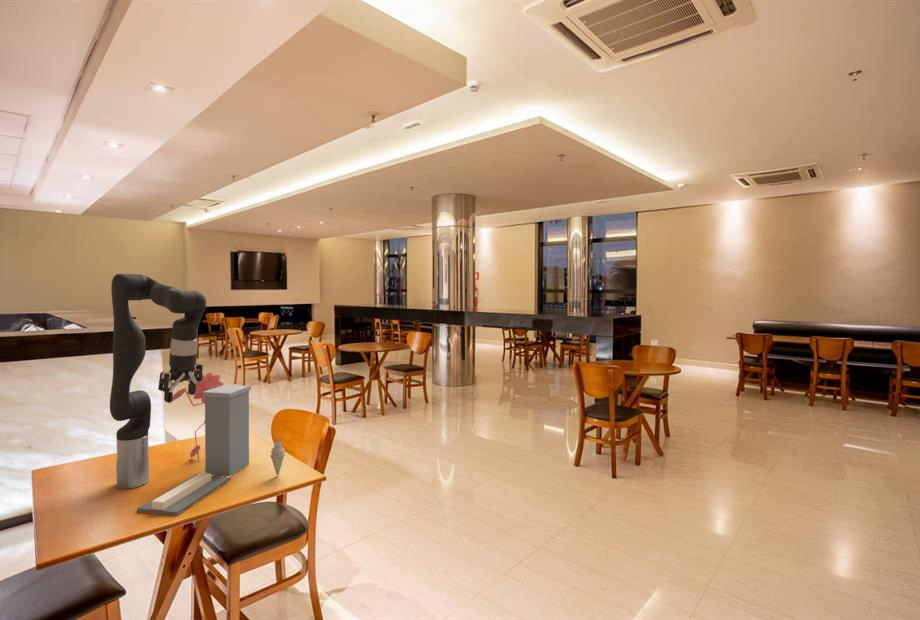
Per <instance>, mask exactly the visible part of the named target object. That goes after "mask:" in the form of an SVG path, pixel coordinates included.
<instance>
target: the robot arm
mask: <svg viewBox="0 0 920 620" xmlns="http://www.w3.org/2000/svg"><path fill="white" fill-rule="evenodd" d="M110 288H111V290H110V291H111V302H112V312H113V313H112V315H113V335H112V336H113V337H112V363H113V364H112V382H111V389H110V397H109V413H110V416H111V417H112V419H113V420H115V421H117V422H121V421H122V422H123V421H127V420H128V421H127V423H125V424H124V425H123V426H121V427H120V428H118V430H117V431H116V435H115V436H116V464H115V466H116V467H115V468H116V489H117V490H120V489H124V490H125V489H133V488H137V487H141V486H143V484H144V485H145V484H147V483H148V482H149V480H150V472H149V471H150V469H149V467H150V465H149V462H150V461H149V460H150V459H149V458H150V457H149V430H150V427H151V418H152V417H151V414H152V402H151V398H150V395H149V394H148V392H146V391H145V390H135V391H134V390H133V391H131V383H132V380H133V378H134V376H135V374H136V372H138V369H140V366H141V365H142V363H143V361H144V359H145V357H146V344H147V343H146V336H145V334H144V332H143V331H142V329H141V328H140V326H139V324H138V323H137V322H136V321H135V319H133V316H132V315H131V312H130V307H129V301H143V300H151V301H152V303H153V304H155V305H158V306H159V307H160V306H161V307H163V308H165V309H167V310H168V311H169V312H170V313H173V314H185V316H184V317H181V318H179V319H176V320H174V321H173V323H172V327H171V328H172V330H171V340H170V345H169V356H168V357H169V359H168V365H169V367H170V369H169V371H168V372H163V371H162V372H160V373H159V379H158V380H159V381H158V387H157V390H158V391H161V392H164V397H163V400H164V401H165V403H168V404H171V403H172V402H173V401H172V397H173V395H174V393H173V391H174V389H175V387H177V386H178V385H179V384H180V383H182V382H186V381H187V382H188V385H187V388H188V389H187V392H188V394H189V396H194V395H195V392H196V384H197V383H198V382H199V381H202V374H203V364H200V363H197V356H198V330H199V325H200V323H201V321H202V317H203V315H204V313H205V309H206V306H207V298H206V296H205V294H204V293H203V292H202V291H199V290H181V289H180V288H177V287H175V286H171V285H166V284H162V283H161V282H158V281H157V280H155V279H153V278H151V277H150V276H148V275H145V274H136V273H133V274H132V273H116V274H114V276H113V277H112V280H111V286H110ZM173 381H174V382H173Z"/></svg>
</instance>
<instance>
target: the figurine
mask: <svg viewBox="0 0 920 620" xmlns="http://www.w3.org/2000/svg"><path fill="white" fill-rule="evenodd" d="M220 379H221V375H220V374H214V375H213V373H212V371H211V372H208V373H207V374H204V373H202V381H199V382H198V383H197V384H196V392H195V394H194V395H193V399H194V400H199V399H201V402H200V403H196V404H194V403H193V400H192V399H191V397H190V396H191V395H190V394H188V389H187V387H183V388H181V389H179V390H177V392H175V393H173V397H172V402H173V401H176V400H177V399H179V398H181V397H182V395H184V394H186V396H187V398H188V400H189V402H190V404H191V406H192V407H196V406H200V405H205V396H203V392H204V391H207V390H210V389H213V388H216V387H219V386H222V385H224V382H223V381H221V380H220ZM203 426H205V420H204V421H203V424H201V425H200V426H199V427H198V428H197V429H196V430H195V431H194V440H195V446H194V448H193V449H192V450H191V451H190V452H191V453H190V452H187V453H188V454H189V456H190V459H192V458H194V457H195V456H196V455H197V457H196V458H197V462H200V455H199V452H200V450H201V449H202V448H201V445H200V444H198V443H197V441H198V440H197V433H196V432H197V431H199V429H201V428H202V427H203Z"/></svg>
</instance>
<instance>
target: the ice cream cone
mask: <svg viewBox="0 0 920 620" xmlns="http://www.w3.org/2000/svg"><path fill="white" fill-rule="evenodd" d="M285 452H286V451H285V448H284V446H282V442H281V441H280V439H279V437H277V438H276V440H275V442H274V444H273V448H271V451H270V453H271V454H270V458H271V462H272V465H273V468H274V471H275V474H276V476H277V475H278V476H279V475H280V472H281V468H282V465H283V461H284V457H285V455H286V453H285Z"/></svg>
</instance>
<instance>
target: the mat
mask: <svg viewBox="0 0 920 620" xmlns="http://www.w3.org/2000/svg"><path fill="white" fill-rule="evenodd" d="M196 475H198V473H195V474H194V475H192V476H191V477H189V478H187V479H185V480H184V481H182V482H180V483H178V484H176V485H175V486H173V487H171V488H169V489H168V490H166V491H164V492H162V493H161V494H159V495H157V496H155V497H154V498H152V499H151V500H149V501H147V502H145V503H144V504H142V505H140V506H138V507H137V508H136V512H137V513H143V512H146V513H145V514H153V513H156V514H155V515H163V514H164V515H165V516H173V515H176V516H175V517H178V516H179V515H181V514H182V513H184V512H185V511H186V509H187V508H188V509H190V508H191V507H193V506H194V505H196V504H197V503H199V502H200V501H202V500H203V499H205V498H206V497H208V496H209V495H211V494H212V493H214V492H215V491H217V490H218V489H219V488H218V487H220V486H221V485H223V484H224V483H226V482H227V481H229V480H230V481H231V477H222V476H211V481H210V482H208V483H206V484H205V485H203V486H201V487H200V488H198V489H197V490H195V491H193V492H192V493H190V494H188V495H187V496H185V497H184V498H182V499H180V500H179V501H177V502H176V503H174V504H172V505H171V506H169V507H167V508H166V509H164V510H157V509H152V501H153V500H155V499H156V498H158V497H160V496H162V495H163V494H165V493H167V492H169V491H170V490H172V489H174V488H176V487H177V486H179V485H181V484H183V483H184V482H186V481H188V480H190V479H191V478H193V477H195V476H196ZM230 481H229V482H230ZM227 483H228V482H227ZM227 483H226V484H227ZM224 485H225V484H224ZM224 485H223V486H224ZM221 487H222V486H221ZM221 487H220V488H221ZM217 488H218V489H217ZM216 489H217V490H216ZM214 490H215V491H214ZM213 491H214V492H213ZM211 492H212V493H211ZM210 493H211V494H210ZM208 494H209V495H208ZM207 495H208V496H207ZM205 496H206V497H205ZM204 497H205V498H204ZM202 498H203V499H202ZM201 499H202V500H201ZM199 500H200V501H199ZM198 501H199V502H198ZM196 502H197V503H196ZM195 503H196V504H195ZM193 504H194V505H193ZM192 505H193V506H192ZM190 506H191V507H190ZM189 507H190V508H189ZM188 509H187V510H188ZM183 511H184V512H183ZM180 513H181V514H180ZM177 515H178V516H177Z"/></svg>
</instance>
